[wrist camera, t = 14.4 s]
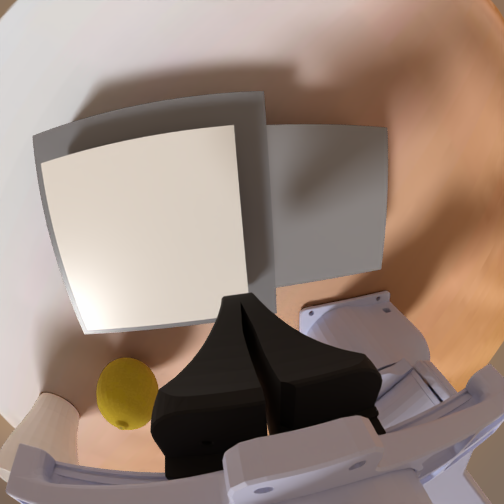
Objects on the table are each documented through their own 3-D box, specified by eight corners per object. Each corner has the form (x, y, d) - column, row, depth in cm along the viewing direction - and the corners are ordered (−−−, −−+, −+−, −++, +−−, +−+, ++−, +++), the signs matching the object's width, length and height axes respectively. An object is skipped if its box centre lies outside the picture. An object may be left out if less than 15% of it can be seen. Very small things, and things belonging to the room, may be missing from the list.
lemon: (133, 331, 23) (115, 399, 16) (173, 368, 25) (170, 435, 18) (96, 355, 24) (75, 417, 16) (135, 387, 26) (125, 449, 18)
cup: (110, 428, 28) (99, 517, 16) (58, 431, 28) (41, 504, 15) (60, 375, 24) (25, 474, 12) (11, 382, 24) (-23, 460, 11)
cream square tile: (230, 127, 14) (233, 125, 12) (246, 298, 17) (250, 313, 16) (54, 160, 12) (40, 163, 11) (94, 316, 16) (87, 330, 15)
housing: (353, 103, 19) (385, 98, 15) (352, 268, 24) (377, 292, 20) (63, 134, 16) (32, 135, 12) (100, 302, 22) (84, 334, 18)
